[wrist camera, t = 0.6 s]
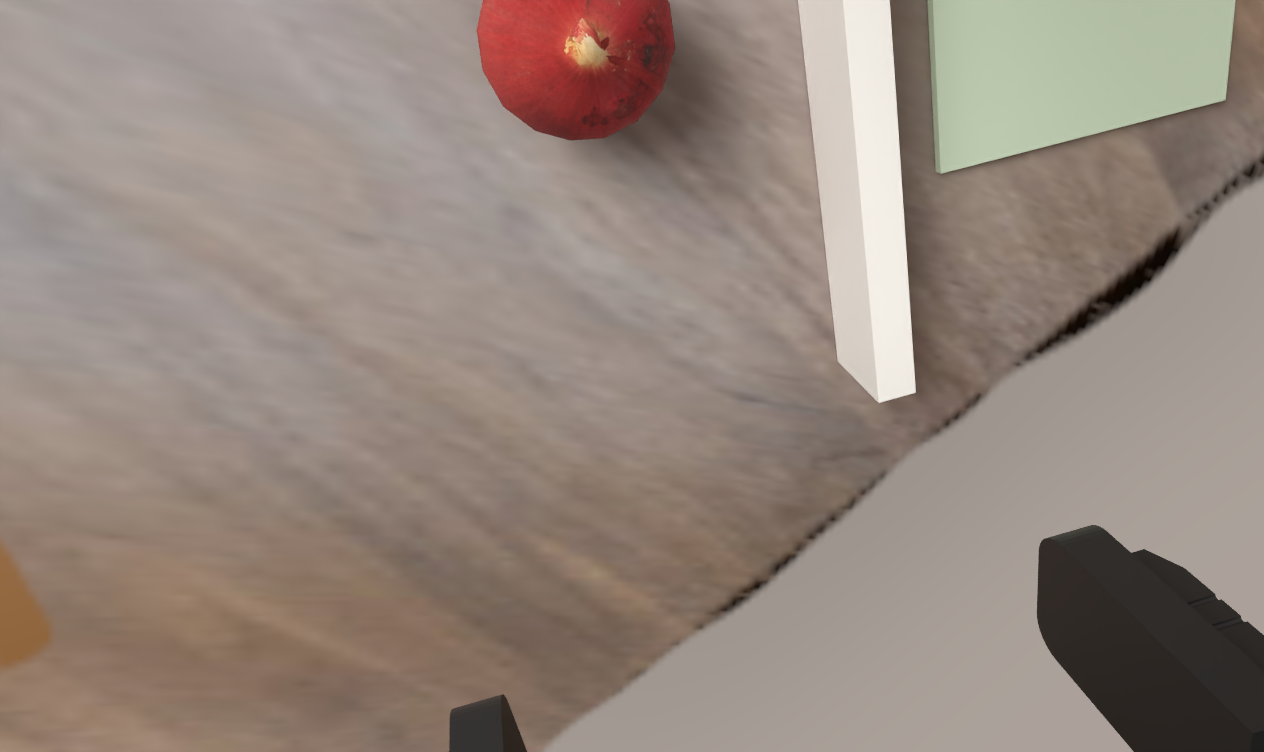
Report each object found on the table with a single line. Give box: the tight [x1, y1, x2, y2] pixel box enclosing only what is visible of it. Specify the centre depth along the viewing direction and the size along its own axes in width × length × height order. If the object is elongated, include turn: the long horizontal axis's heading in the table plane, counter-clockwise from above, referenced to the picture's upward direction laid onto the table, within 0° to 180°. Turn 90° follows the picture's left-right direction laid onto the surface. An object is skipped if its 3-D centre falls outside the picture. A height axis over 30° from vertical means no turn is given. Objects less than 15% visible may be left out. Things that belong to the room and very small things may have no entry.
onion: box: [477, 0, 675, 140], centre depth 26 cm, size 6×6×8 cm
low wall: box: [798, 0, 916, 403], centre depth 29 cm, size 26×2×4 cm, turn 12°
